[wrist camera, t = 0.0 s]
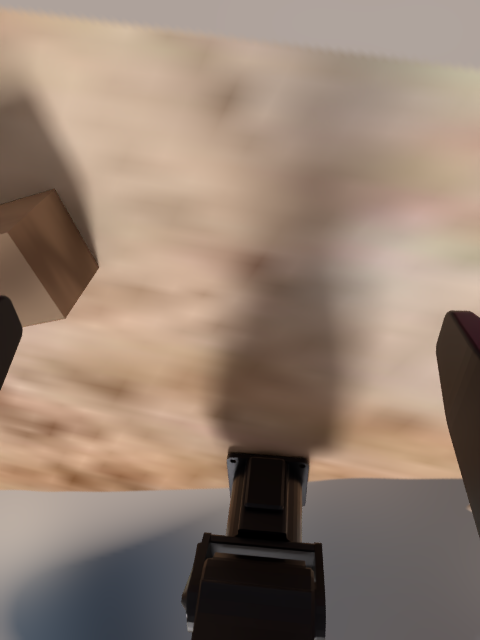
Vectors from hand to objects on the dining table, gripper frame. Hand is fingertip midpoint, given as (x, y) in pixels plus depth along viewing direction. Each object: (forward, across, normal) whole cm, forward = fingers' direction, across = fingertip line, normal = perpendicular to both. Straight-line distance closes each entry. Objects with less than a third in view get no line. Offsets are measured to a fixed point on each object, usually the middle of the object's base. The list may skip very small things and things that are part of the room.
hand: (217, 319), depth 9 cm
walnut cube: (+15, +13, +6) cm, 21 cm away
